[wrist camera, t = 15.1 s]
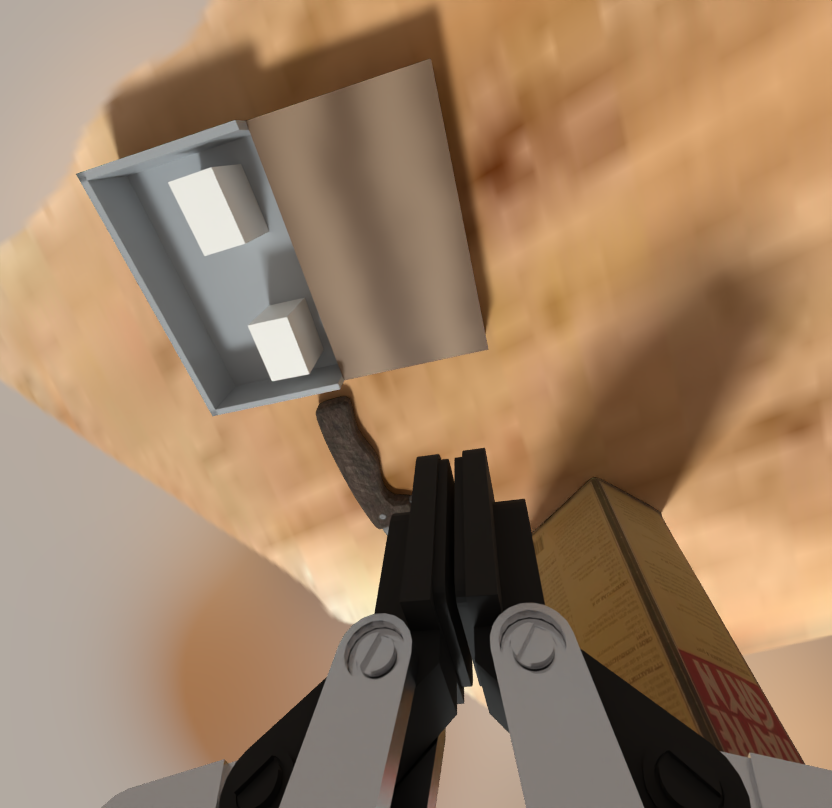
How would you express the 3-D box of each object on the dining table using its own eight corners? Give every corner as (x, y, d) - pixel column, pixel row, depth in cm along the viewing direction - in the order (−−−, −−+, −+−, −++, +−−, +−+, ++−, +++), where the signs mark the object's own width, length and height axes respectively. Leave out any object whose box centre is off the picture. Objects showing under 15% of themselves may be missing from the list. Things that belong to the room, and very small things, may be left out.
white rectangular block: (211, 167, 27) (167, 182, 27) (245, 243, 29) (204, 256, 29) (241, 163, 31) (202, 177, 31) (269, 231, 33) (232, 242, 33)
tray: (262, 122, 30) (235, 119, 26) (351, 364, 38) (340, 389, 34) (121, 169, 32) (76, 174, 28) (235, 389, 40) (212, 416, 36)
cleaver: (296, 411, 41) (290, 423, 40) (388, 368, 39) (385, 380, 37) (439, 597, 54) (439, 613, 52) (516, 576, 51) (518, 592, 50)
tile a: (286, 316, 31) (247, 325, 32) (309, 374, 33) (271, 381, 34) (304, 297, 35) (269, 305, 35) (323, 349, 37) (290, 356, 38)
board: (432, 66, 28) (430, 58, 25) (485, 334, 36) (488, 349, 34) (262, 122, 30) (245, 120, 27) (351, 364, 38) (344, 380, 36)
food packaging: (576, 586, 51) (672, 917, 29) (508, 554, 49) (556, 883, 27) (666, 513, 44) (873, 864, 23) (592, 472, 42) (741, 814, 21)
